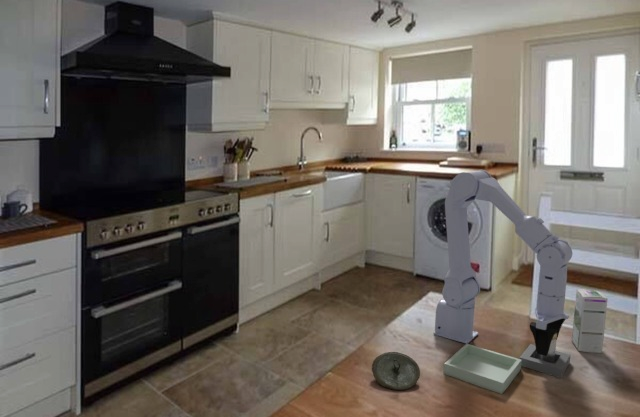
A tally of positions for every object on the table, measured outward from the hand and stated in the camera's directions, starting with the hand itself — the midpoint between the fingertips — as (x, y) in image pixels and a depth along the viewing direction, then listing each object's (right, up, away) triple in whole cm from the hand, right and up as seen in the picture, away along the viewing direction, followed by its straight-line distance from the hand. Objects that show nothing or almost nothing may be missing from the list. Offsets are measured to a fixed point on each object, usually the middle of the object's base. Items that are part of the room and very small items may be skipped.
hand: (546, 348), depth 112 cm
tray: (-16, -4, -3) cm, 17 cm away
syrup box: (+15, -3, +9) cm, 18 cm away
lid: (-36, -5, -6) cm, 37 cm away
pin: (0, -4, +1) cm, 4 cm away
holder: (0, -4, +1) cm, 4 cm away
